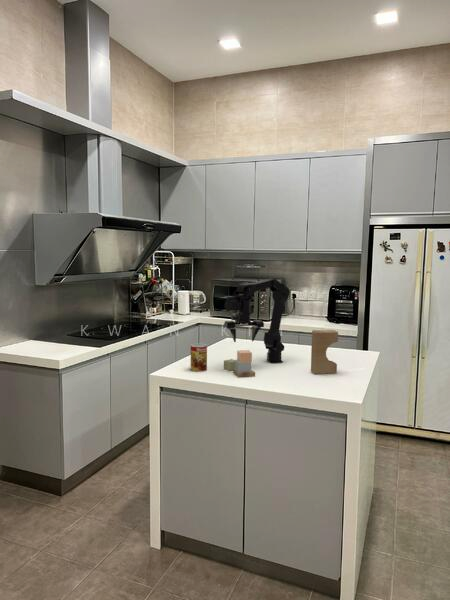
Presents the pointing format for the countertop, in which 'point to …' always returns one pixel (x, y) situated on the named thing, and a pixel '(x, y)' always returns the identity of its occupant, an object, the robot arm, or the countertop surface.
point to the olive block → (229, 365)
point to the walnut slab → (244, 374)
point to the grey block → (242, 367)
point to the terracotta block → (244, 356)
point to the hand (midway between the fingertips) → (243, 341)
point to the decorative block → (322, 351)
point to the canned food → (198, 357)
